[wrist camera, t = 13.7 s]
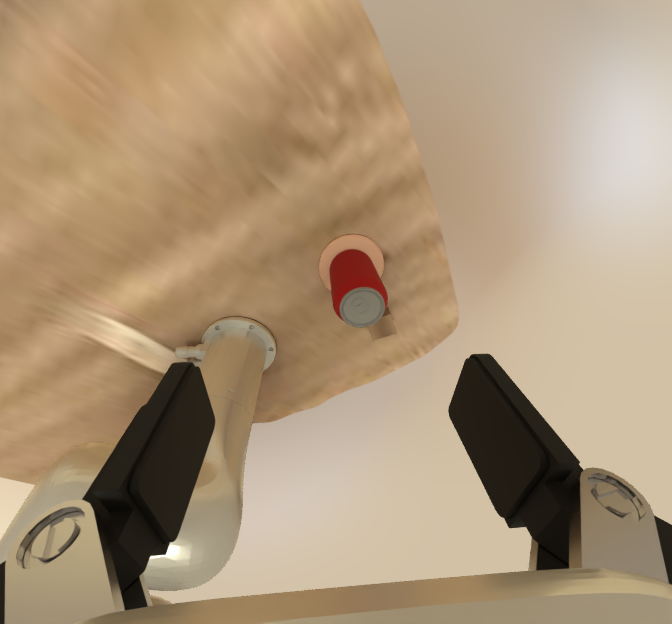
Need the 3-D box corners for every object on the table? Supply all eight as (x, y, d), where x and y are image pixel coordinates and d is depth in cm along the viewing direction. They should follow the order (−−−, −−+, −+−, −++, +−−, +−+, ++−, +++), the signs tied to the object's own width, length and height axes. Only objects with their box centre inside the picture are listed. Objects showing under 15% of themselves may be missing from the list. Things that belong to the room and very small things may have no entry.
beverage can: (344, 295, 45) (353, 341, 35) (319, 264, 42) (322, 304, 32) (380, 272, 44) (401, 313, 34) (357, 238, 41) (372, 271, 30)
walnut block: (369, 326, 50) (373, 340, 47) (362, 309, 48) (366, 322, 44) (390, 319, 49) (396, 333, 46) (385, 301, 47) (390, 314, 44)
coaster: (319, 295, 46) (319, 296, 45) (318, 233, 40) (318, 235, 40) (379, 294, 46) (380, 296, 46) (386, 234, 41) (387, 235, 41)
